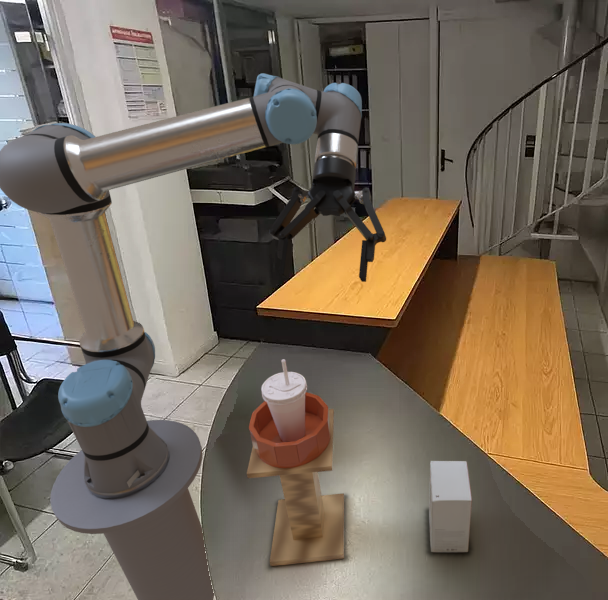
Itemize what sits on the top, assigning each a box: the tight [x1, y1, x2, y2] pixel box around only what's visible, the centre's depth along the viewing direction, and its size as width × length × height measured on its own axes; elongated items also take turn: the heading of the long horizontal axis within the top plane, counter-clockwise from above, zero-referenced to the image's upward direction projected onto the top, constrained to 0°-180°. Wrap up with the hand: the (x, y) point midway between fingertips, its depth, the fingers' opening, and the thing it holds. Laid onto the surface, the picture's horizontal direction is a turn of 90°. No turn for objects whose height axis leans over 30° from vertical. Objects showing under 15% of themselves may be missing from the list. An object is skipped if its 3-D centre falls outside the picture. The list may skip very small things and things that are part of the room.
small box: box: [428, 460, 473, 553], centre depth 81 cm, size 8×6×13 cm
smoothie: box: [260, 358, 308, 442], centre depth 70 cm, size 6×6×14 cm
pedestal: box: [246, 408, 345, 567], centre depth 79 cm, size 12×12×22 cm
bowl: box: [248, 391, 331, 468], centre depth 73 cm, size 11×11×4 cm
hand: (322, 278), depth 82 cm, fingers open, 13 cm apart
